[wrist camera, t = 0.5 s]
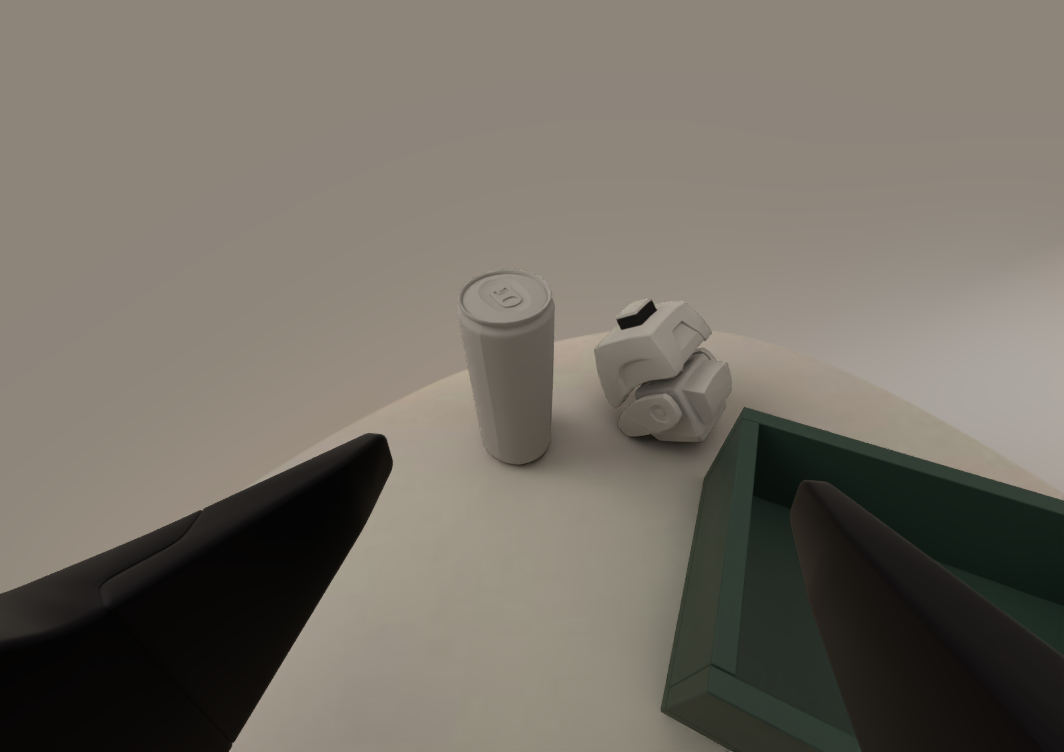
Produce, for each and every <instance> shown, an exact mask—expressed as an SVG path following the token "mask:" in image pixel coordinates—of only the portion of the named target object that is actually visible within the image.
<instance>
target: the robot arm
mask: <svg viewBox="0 0 1064 752" xmlns="http://www.w3.org/2000/svg"><path fill="white" fill-rule="evenodd" d="M392 466H393V460H392V456H391V453H390V449H389V446H388V442H387V439H386V437H385V436H384V435H382V434H374V433H367V434H364V435H362V436H360V437H358V438H356V439H353V440H351V441H349V442H347V443H345V444H343V445H340V446H338V447H336V448H334V449H332V450H330V451H327V452H325V453H323V454H321V455H319V456H317V457H314V458H312V459H310V460H308V461H306V462H304V463H301V464H299V465H297V466H295V467H293V468H291V469H288V470H286V471H284V472H282V473H280V474H278V475H275V476H273V477H271V478H269V479H267V480H265V481H262V482H260V483H258V484H256V485H254V486H252V487H249V488H247V489H245V490H243V491H241V492H239V493H236V494H234V495H232V496H230V497H228V498H226V499H223V500H221V501H219V502H217V503H215V504H213V505H210V506H208V507H206V508H204V509H203V511H202V510H199V511H197V512H195V513H193V514H191V515H189V516H186V517H184V518H182V519H180V520H178V521H175V522H173V523H171V524H169V525H166V526H164V527H162V528H160V529H157V530H155V531H153V532H151V533H149V534H146V535H144V536H142V537H139V538H137V539H134V540H132V541H130V542H127V543H125V544H123V545H120V546H118V547H116V548H113V549H111V550H108V551H106V552H104V553H101V554H99V555H96V556H94V557H91V558H89V559H87V560H84V561H82V562H79V563H77V564H74V565H72V566H70V567H67V568H65V569H63V570H60V571H57V572H55V573H53V574H50V575H48V576H45V577H43V578H41V579H38V580H36V581H33V582H31V583H28V584H26V585H23V586H21V587H18V588H16V589H13V590H10V591H7V592H5V593H1V594H0V752H229V750H230V749H231V747H232V743H234V741H235V740H236V738H237V737H238V735H239V733H240V732H241V730H242V728H243V727H244V725H245V723H246V722H247V720H248V719H249V717H250V715H251V714H252V712H253V710H254V709H255V707H256V705H257V704H258V702H259V700H260V699H261V697H262V695H263V694H264V692H265V690H266V689H267V687H268V685H269V684H270V682H271V680H272V679H273V677H274V676H275V674H276V672H277V671H278V669H279V667H280V666H281V664H282V662H283V661H284V659H285V657H286V656H287V654H288V652H289V651H290V649H291V647H292V646H293V644H294V642H295V641H296V639H297V637H298V636H299V634H300V633H301V631H302V629H303V628H304V626H305V624H306V623H307V621H308V619H309V618H310V616H311V614H312V613H313V611H314V609H315V608H316V606H317V604H318V603H319V601H320V599H321V598H322V596H323V594H324V593H325V591H326V590H327V588H328V586H329V585H330V583H331V581H332V580H333V578H334V576H335V575H336V573H337V571H338V570H339V568H340V566H341V565H342V563H343V561H344V560H345V558H346V556H347V555H348V553H349V551H350V550H351V548H352V547H353V545H354V543H355V542H356V540H357V538H358V537H359V535H360V533H361V531H362V530H363V528H364V526H365V524H366V522H367V520H368V518H369V517H370V514H371V512H372V510H373V508H374V506H375V504H376V502H377V500H378V498H379V496H380V494H381V491H382V489H383V487H384V485H385V483H386V481H387V479H388V477H389V475H390V473H391V470H392ZM790 523H791V527H792V532H793V536H794V541H795V545H796V549H797V554H798V558H799V562H800V567H801V571H802V575H803V580H804V584H805V588H806V592H807V596H808V600H809V603H810V606H811V610H812V613H813V616H814V619H815V621H816V624H817V627H818V630H819V633H820V636H821V638H822V641H823V644H824V647H825V650H826V653H827V655H828V658H829V661H830V664H831V667H832V670H833V672H834V675H835V678H836V681H837V684H838V687H839V690H840V692H841V695H842V698H843V701H844V704H845V707H846V709H847V712H848V715H849V718H850V721H851V724H852V726H853V729H854V732H855V735H856V738H857V741H858V743H859V746H860V749H861V752H1064V656H1063V655H1062V654H1061V653H1059V652H1058V651H1056V650H1055V649H1054V648H1052V647H1051V646H1050V645H1048V644H1047V643H1046V642H1044V641H1043V640H1042V639H1040V638H1039V637H1038V636H1036V635H1035V634H1033V633H1032V632H1031V631H1029V630H1028V629H1027V628H1025V627H1024V626H1023V625H1021V624H1020V623H1019V622H1017V621H1016V620H1014V619H1013V618H1012V617H1010V616H1009V615H1008V614H1006V613H1005V612H1004V611H1002V610H1001V609H1000V608H998V607H997V606H995V605H994V604H993V603H991V602H990V601H989V600H987V599H986V598H985V597H983V596H982V595H981V594H979V593H978V592H977V591H975V590H974V589H972V588H971V587H970V586H968V585H967V584H966V583H964V582H963V581H962V580H960V579H959V578H958V577H956V576H955V575H953V574H952V573H951V572H949V571H948V570H947V569H945V568H944V567H943V566H941V565H940V564H939V563H937V562H936V561H935V560H933V559H932V558H930V557H929V556H928V555H926V554H925V553H924V552H922V551H921V550H920V549H918V548H917V547H916V546H914V545H913V544H911V543H910V542H909V541H907V540H906V539H905V538H903V537H902V536H901V535H899V534H898V533H897V532H895V531H894V530H892V529H891V528H890V527H888V526H887V525H886V524H884V523H883V522H882V521H880V520H879V519H878V518H876V517H875V516H874V515H872V514H871V513H869V512H868V511H867V510H865V509H864V508H863V507H861V506H860V505H859V504H857V503H856V502H855V501H853V500H852V499H850V498H849V497H848V496H846V495H845V494H844V493H842V492H841V491H840V490H838V489H837V488H836V487H834V486H833V485H831V484H830V483H828V482H823V481H813V480H804V481H802V482H801V483H800V485H799V487H798V490H797V493H796V496H795V499H794V502H793V505H792V507H791V511H790Z"/></svg>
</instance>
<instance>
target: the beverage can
mask: <svg viewBox="0 0 1064 752" xmlns="http://www.w3.org/2000/svg"><path fill="white" fill-rule="evenodd" d="M554 309H555V306H554V302H553V299H552V291H551V288H550V286H549V284H548V283H547V282H546V281H545V280H544V279H543V278H541V277H540V276H538V275H536V274H534V273H530V272H528V271H523V270H517V269H501V270H493V271H489V272H485V273H482V274H480V275H478V276H475V277H473V278H472V279H470V280H469V281H467V282H466V283H465V284H464V285H463V286H462V288H461V289H460V292H459V294H458V308H457V310H458V320H459V326H460V330H461V336H462V340H463V346H464V350H465V356H466V360H467V365H468V371H469V376H470V381H471V386H472V391H473V396H474V401H475V406H476V411H477V416H478V421H479V426H480V431H481V436H482V441H483V444H484V446H485V448H486V450H487V451H488V452H489V453H490V454H491V455H492V456H493V457H495V458H497V459H499V460H500V461H503V462H506V463H509V464H518V465H519V464H525V463H529V462H531V461H534V460H536V459H537V458H539V457H540V456H541V455H543V453H544V452H545V451H546V449H547V448H548V446H549V443H550V440H551V413H552V390H553V361H554Z"/></svg>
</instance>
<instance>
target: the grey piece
mask: <svg viewBox="0 0 1064 752" xmlns="http://www.w3.org/2000/svg"><path fill="white" fill-rule="evenodd" d="M616 320H617V322H618V324H619V325H618V326H617V327H616V328H615V329H614V330H612V331H611V332H610V333H609V334H608V335H607V336H606V337H605V338H604V339H603V340H602V341H601V342H600V343H599V344H598V345H597V347H596V348H595V349H594V352H595V359H596V365H597V371H598V375H599V378H600V382H601V385H602V388H603V390H604V392H605V395H606V397H607V399H608V401H609V403H610V404H611V405H612V406H613V407H614V408H617V407H619V406H620V405H621V404H622V403H623V402H624V401H625V399H626V398H627V397H628V395H629V394H630V392H631V391H632V390H633V389H634V388H635V387H636V386H638V385H640V384H642V383H643V384H642V385H641V386H640V387H639V388H638V389H637V391H636V394H635V396H636V400H635V401H634V402H632V403H631V404H630V405H629V406H628V407H627V408H626V409H625V411H624V412H623V413H622V414H621V416H620V417H619V421H618V427H619V428H620V429H621V430H622V431H623V432H624V433H625V434H626V435H628V436H631V437H633V436H643V435H648V434H652V435H653V436H654V437H655V438H657V439H658V440H660V441H679V442H702V441H704V440H705V439H706V437H707V436H708V434H709V433H710V431H711V430H712V428H713V426H714V425H715V423H716V422H717V420H718V419H719V417H720V416H721V414H722V413H723V411H724V410H725V408H726V399H727V397H728V396H729V394H730V392H731V390H732V380H731V374H730V370H729V366H728V363H727V362H722V361H717V360H716V359H715V357H714V356H713V354H712V353H711V352H710V351H708V350H707V349H704V348H700V349H697V348H698V346H699V345H700V344H701V343H702V342H703V341H706V340H707V339H708V337H709V336H710V335H711V333H712V331H711V329H710V327H709V326H708V325H707V323H706V322H705V320H704V319H703V318H702V317H701V316H700V315H699V314H698V313H697V312H696V311H695V310H694V309H693V308H692V307H691V306H689V305H688V304H687V303H686V302H685V301H672V302H664V303H659V304H656V305H654V303H653V302H652V300H651V299H650V298H648V299H644V300H641V301H637V302H634V303H631V304H630V305H629V306H628V307H626V308H625V309H624V310H623V311H622V312H621V313H620V314H619V315H617V316H616Z"/></svg>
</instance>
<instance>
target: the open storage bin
mask: <svg viewBox="0 0 1064 752" xmlns="http://www.w3.org/2000/svg"><path fill="white" fill-rule="evenodd" d="M804 480H813V481H823V482H828V483H830V484H831V485H833V486H834V487H836V488H837V489H838V490H840V491H841V492H842V493H844V494H845V495H846V496H848V497H849V498H850V499H852V500H853V501H855V502H856V503H857V504H859V505H860V506H861V507H863V508H864V509H865V510H867V511H868V512H869V513H871V514H872V515H874V516H875V517H876V518H878V519H879V520H880V521H882V522H883V523H884V524H886V525H887V526H888V527H890V528H891V529H892V530H894V531H895V532H897V533H898V534H899V535H901V536H902V537H903V538H905V539H906V540H907V541H909V542H910V543H911V544H913V545H914V546H916V547H917V548H918V549H920V550H921V551H922V552H924V553H925V554H926V555H928V556H929V557H930V558H932V559H933V560H935V561H936V562H937V563H939V564H940V565H941V566H943V567H944V568H945V569H947V570H948V571H949V572H951V573H952V574H953V575H955V576H956V577H958V578H959V579H960V580H962V581H963V582H964V583H966V584H967V585H968V586H970V587H971V588H972V589H974V590H975V591H977V592H978V593H979V594H981V595H982V596H983V597H985V598H986V599H987V600H989V601H990V602H991V603H993V604H994V605H995V606H997V607H998V608H1000V609H1001V610H1002V611H1004V612H1005V613H1006V614H1008V615H1009V616H1010V617H1012V618H1013V619H1014V620H1016V621H1017V622H1019V623H1020V624H1021V625H1023V626H1024V627H1025V628H1027V629H1028V630H1029V631H1031V632H1032V633H1033V634H1035V635H1036V636H1038V637H1039V638H1040V639H1042V640H1043V641H1044V642H1046V643H1047V644H1048V645H1050V646H1051V647H1052V648H1054V649H1055V650H1056V651H1058V652H1059V653H1061V654H1062V655H1063V656H1064V501H1063V500H1060V499H1057V498H1053V497H1050V496H1046V495H1043V494H1039V493H1036V492H1033V491H1029V490H1026V489H1022V488H1019V487H1016V486H1012V485H1009V484H1005V483H1002V482H998V481H995V480H992V479H988V478H985V477H981V476H978V475H975V474H971V473H968V472H964V471H961V470H957V469H954V468H951V467H947V466H944V465H940V464H937V463H934V462H930V461H927V460H923V459H920V458H916V457H913V456H910V455H906V454H903V453H899V452H896V451H893V450H889V449H886V448H882V447H879V446H875V445H872V444H869V443H865V442H862V441H858V440H855V439H852V438H848V437H845V436H841V435H838V434H834V433H831V432H828V431H824V430H821V429H817V428H814V427H811V426H807V425H804V424H800V423H797V422H793V421H790V420H787V419H783V418H780V417H776V416H773V415H770V414H766V413H763V412H759V411H756V410H752V409H749V408H746V407H744V408H743V410H742V412H741V413H740V415H739V417H738V419H737V421H736V422H735V424H734V426H733V428H732V429H731V431H730V433H729V435H728V437H727V438H726V440H725V442H724V444H723V445H722V447H721V449H720V451H719V453H718V454H717V456H716V458H715V460H714V461H713V463H712V465H711V467H710V468H709V470H708V472H707V474H706V476H705V478H704V483H703V488H702V494H701V499H700V504H699V510H698V515H697V520H696V526H695V531H694V536H693V542H692V547H691V552H690V558H689V563H688V568H687V574H686V579H685V584H684V590H683V595H682V600H681V606H680V611H679V616H678V621H677V627H676V632H675V637H674V643H673V648H672V653H671V659H670V664H669V669H668V675H667V680H666V685H665V691H664V696H663V701H662V707H661V711H662V712H663V713H664V714H666V715H668V716H670V717H672V718H673V719H675V720H677V721H679V722H681V723H682V724H684V725H686V726H688V727H690V728H691V729H693V730H695V731H697V732H699V733H700V734H702V735H704V736H706V737H708V738H709V739H711V740H713V741H715V742H717V743H718V744H720V745H722V746H724V747H726V748H727V749H729V750H731V751H733V752H861V749H860V746H859V743H858V741H857V738H856V735H855V732H854V729H853V726H852V724H851V721H850V718H849V715H848V712H847V709H846V707H845V704H844V701H843V698H842V695H841V692H840V690H839V687H838V684H837V681H836V678H835V675H834V672H833V670H832V667H831V664H830V661H829V658H828V655H827V653H826V650H825V647H824V644H823V641H822V638H821V636H820V633H819V630H818V627H817V624H816V621H815V619H814V616H813V613H812V610H811V606H810V603H809V600H808V596H807V592H806V588H805V584H804V580H803V575H802V571H801V567H800V562H799V558H798V554H797V549H796V545H795V541H794V536H793V532H792V527H791V523H790V511H791V507H792V505H793V502H794V499H795V496H796V493H797V490H798V487H799V485H800V483H801V482H802V481H804Z"/></svg>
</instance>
